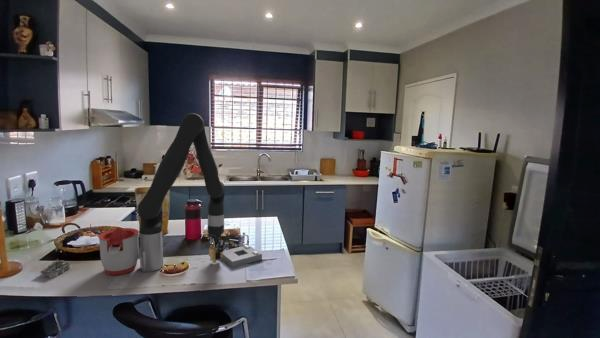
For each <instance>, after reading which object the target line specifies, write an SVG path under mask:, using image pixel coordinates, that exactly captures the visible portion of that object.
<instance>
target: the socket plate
mask: <svg viewBox="0 0 600 338" xmlns="http://www.w3.org/2000/svg"><path fill="white" fill-rule="evenodd" d="M262 259H263V254H262V253H261V252H260V251H258V250H257V249H256V248H254V247H252V246H251V245H249V244H246V245H242V246H239V247H233V248H229V249H225V250H223V257H220V260H223V262H225V263H226V264H227V265H229V266H230V267H231V268H232V269H233V268H236V267H240V266H244V265H247V264H251V263H254V262H258V261H261V260H262ZM262 261H263V260H262Z"/></svg>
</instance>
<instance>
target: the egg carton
mask: <svg viewBox="0 0 600 338" xmlns="http://www.w3.org/2000/svg"><path fill="white" fill-rule="evenodd" d="M70 270H71V262H67V261H65V262H64V261H63V260H59V259H56V260H54V261H53V262H52V263H51V264H49V265H48V266H46V267H45V268H43V269H42V270H41V271H39V273H40V274H41V278H48V277H49V279H53V278H58V277H59V275H60V274H64V273H65V271H70Z"/></svg>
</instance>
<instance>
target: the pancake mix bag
mask: <svg viewBox="0 0 600 338" xmlns="http://www.w3.org/2000/svg"><path fill="white" fill-rule="evenodd" d="M149 188H150V186H147V187H146V186H143V187H142V186H141V187H135V188H134V195H135V203H136V205H135V206H136V210H137V219H138V225H139V226H138V228H139V229H138V231H139V233H138V235H140V222H141V217H140V216H139V214H138V205H139V203H140V202H141V201H142V199H143V198H144V196H145V195H146V193H147V192H148V190H149ZM170 206H171V188H170V189H169V191H168V192H167V194H166V196H165V198H164V201H163V203H162V219H163V222H162V235H165V234H169V229H168V226H169V217H170Z"/></svg>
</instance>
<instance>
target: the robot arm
mask: <svg viewBox="0 0 600 338" xmlns="http://www.w3.org/2000/svg"><path fill="white" fill-rule="evenodd" d="M205 129H206V127H205V120H204V119H203V118H202V116H201V115H199V114H197V113H194V112H192V113H187V114H185V115H184V117H183V118H182V119H181V122H180V125H179V128H178V130H177V133H176V135H175V137H174V139H173V141H172V143H171V144H170V146H169V147H168V148H167V150H166V153H165V154H164V155H163V158H162V159H161V161H160V162H159V165H158V167H157V169H156V172H155V174H154V175H153V179H152V182H151V185H150V186H149V187H150V188H149V190H148V192H147V193H146V195H145V196H144V198H143V199H142V201H141V202H140V203H139V205H138V212H137V215H138V214H139V216H140V217H141V222H140V234H139V246H140V247H139V268H140V269H141V271H142V272H143V273H145V272H146V273H147V272H155V271H159V270H160V269H162V268H163V267H164V250H163V248H164V245H163V234H162V222H163V219H162V203H163V201H164V198H165V196H166V194H167V192H168V191H169V189H170V190H171V189H172V187H173V185H174V184H175V182H176V180H177V179H178V177H179V175H181V172H182V170H183V168H184V167H185V166H184V165H185V164H186V161H187V157H188V156H189V151H190V149H191V147H192V144H193V145H194V149H195V153H196V154H195V155H196V157H197V162H198V165H199V168H200V171H201V173H202V176H203V181H204V184H205V189H206V192H207V194H208V196H209V202H208V208H207V209H208V211H207V213H208V215H207V238H208V246H209V248H211V247H214V248H215V259H216V261H218V260H219V259H220V260H221V258H220V252H223V251H224V247H225V241H224V240H222V234H224V233H225V216H224V214H225V212H224V209H225V206H224V205H225V204H224V200H225V189H226V188H225V187H226V186H225V185H224V182H222V181H220V178H219V169H218V167H217V165H216V162H215V159H214V156H213V153H212V150H211V148H210V146H209V143H208V137H207V135H206V130H205ZM220 260H219V261H220ZM162 266H163V267H162ZM161 267H162V268H161Z"/></svg>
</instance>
